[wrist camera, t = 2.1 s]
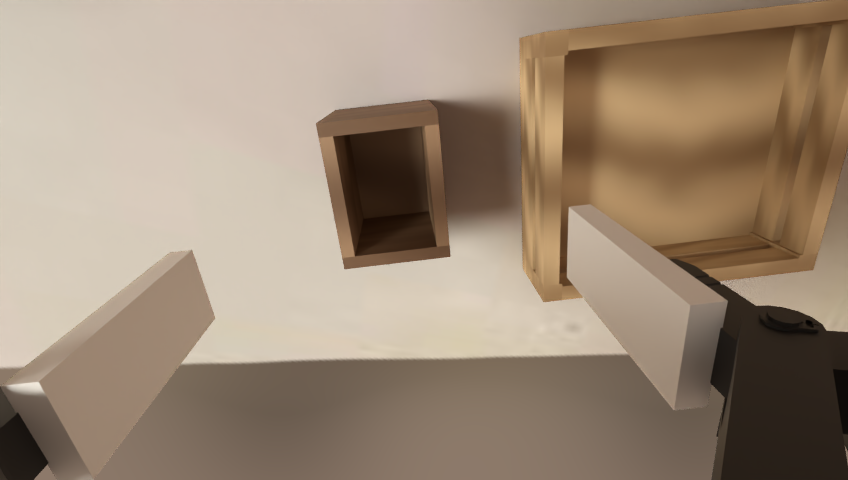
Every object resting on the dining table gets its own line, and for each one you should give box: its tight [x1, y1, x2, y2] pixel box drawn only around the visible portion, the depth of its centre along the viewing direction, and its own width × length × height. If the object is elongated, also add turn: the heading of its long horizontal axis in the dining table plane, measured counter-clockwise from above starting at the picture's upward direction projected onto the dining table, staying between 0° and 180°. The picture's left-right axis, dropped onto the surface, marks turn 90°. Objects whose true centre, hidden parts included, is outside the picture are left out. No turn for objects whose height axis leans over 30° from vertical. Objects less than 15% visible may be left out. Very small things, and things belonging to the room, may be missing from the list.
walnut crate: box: [316, 100, 450, 269], centre depth 25 cm, size 8×6×7 cm
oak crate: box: [520, 0, 848, 302], centre depth 27 cm, size 16×18×5 cm
